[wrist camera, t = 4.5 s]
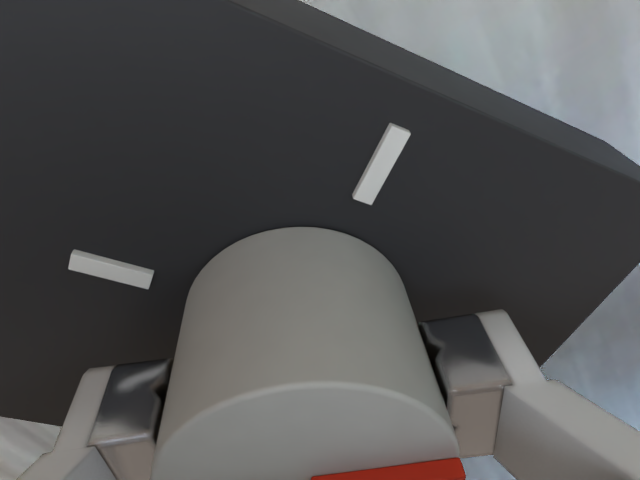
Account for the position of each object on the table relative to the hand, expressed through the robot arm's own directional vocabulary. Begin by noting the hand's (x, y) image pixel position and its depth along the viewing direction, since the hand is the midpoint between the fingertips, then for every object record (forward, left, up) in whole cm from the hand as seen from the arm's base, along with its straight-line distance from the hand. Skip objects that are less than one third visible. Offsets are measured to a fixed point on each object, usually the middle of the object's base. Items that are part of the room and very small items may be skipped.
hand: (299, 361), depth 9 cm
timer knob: (0, 0, -1) cm, 1 cm away
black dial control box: (0, 0, -4) cm, 4 cm away
